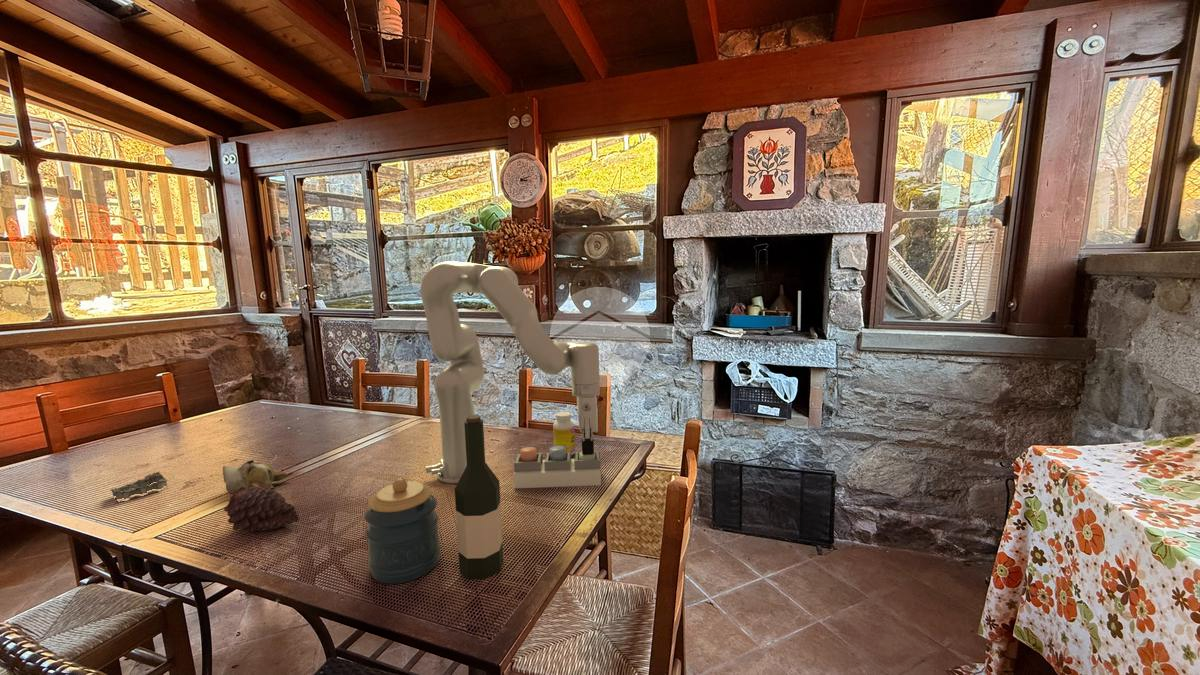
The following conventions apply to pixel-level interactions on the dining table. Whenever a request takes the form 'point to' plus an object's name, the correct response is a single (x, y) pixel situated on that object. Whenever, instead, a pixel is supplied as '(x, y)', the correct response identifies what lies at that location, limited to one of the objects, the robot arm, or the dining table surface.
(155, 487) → the tree bark piece
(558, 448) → the slate button
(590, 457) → the sage button
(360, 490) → the dining table surface
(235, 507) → the pine cone
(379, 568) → the canister
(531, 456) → the terracotta button
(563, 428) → the supplement bottle
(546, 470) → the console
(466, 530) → the wine bottle
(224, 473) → the ceramic sculpture
